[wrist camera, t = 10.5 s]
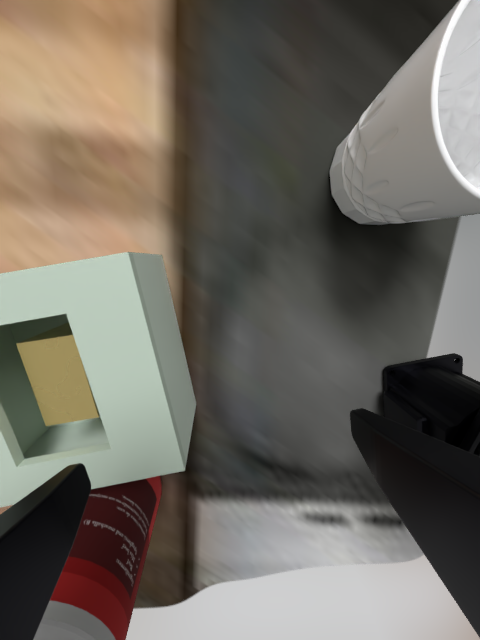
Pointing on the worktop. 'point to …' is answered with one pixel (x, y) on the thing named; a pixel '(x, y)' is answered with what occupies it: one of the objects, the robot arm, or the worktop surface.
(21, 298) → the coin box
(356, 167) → the white cup
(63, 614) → the canned food
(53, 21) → the worktop surface
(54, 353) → the yellow block
